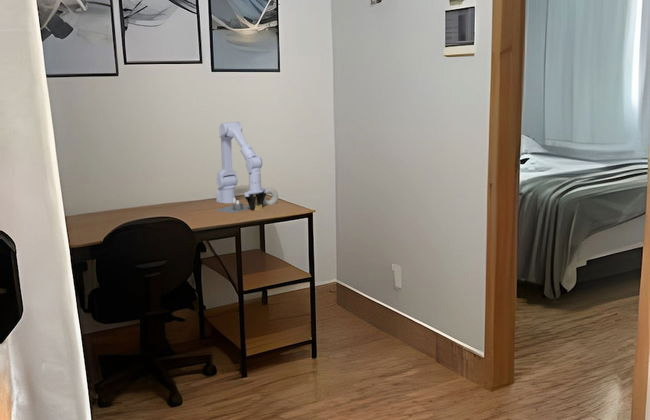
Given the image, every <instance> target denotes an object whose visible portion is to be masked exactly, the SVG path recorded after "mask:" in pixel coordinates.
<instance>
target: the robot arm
mask: <svg viewBox="0 0 650 420" xmlns="http://www.w3.org/2000/svg"><path fill="white" fill-rule="evenodd" d="M218 127H219V129H218V130H219V138H220V145H221V146H220V148H221V149H220V150H221V151H220V152H221V170H220V171H218V172H217V176H216V180H215V182H216V186H217V187H218V188H217V189H216V193H215V196H216V203H222V204H233V198H236V193H235V191H236V190H235V188H236V186H237V185H238V180H239V179H238V177H237V172H236V171H235V170H233V156H232V155H233V153H232V152H233V151H232V148H233V147H232V139H233V138H234V139H235V141H236V143H237V144H238V145H239V147H240V153H241V155H242V156H243V158H244V160H245V166H246V168H247V169H246V170H247V173H248V184H249V190H248V191H245V192H244V198H245V200H246V201H247V203H248V206H250V208H249V209H250V210H251V211H256V210H255V204H262V207H263V206H264V205H263V201H264V198H265V196H266V197H267V195H266V193H264V192H266V188H267V187H262V177H261V168H262V166H263V159H262V157H261V156H259V155H258V154H256V152H255V151H254V149H253V147H252V146H251V145H250V144H248V143H247V140H246V138H245V136H244V134H243V126H242V124H241V122H239V121H233V122H232V121H231V122H221V123H220V124H219V126H218ZM256 201H257V203H256Z"/></svg>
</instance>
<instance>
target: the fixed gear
mask: <svg viewBox="0 0 650 420" xmlns="http://www.w3.org/2000/svg"><path fill="white" fill-rule="evenodd" d="M231 204H232V205H231V206H232V208H233V210H237V211H238V210H243V209H244V206H245V205H244V203H243V202H239V204H236V203H231ZM243 205H244V206H243ZM243 211H244V210H243Z"/></svg>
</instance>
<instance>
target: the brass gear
mask: <svg viewBox="0 0 650 420" xmlns="http://www.w3.org/2000/svg"><path fill="white" fill-rule="evenodd" d="M260 210H263V206H262V204H257V203H255V210H254V211H260Z"/></svg>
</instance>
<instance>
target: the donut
mask: <svg viewBox="0 0 650 420" xmlns="http://www.w3.org/2000/svg"><path fill="white" fill-rule="evenodd" d="M265 188H266V192H264V193H266V196H265V198H264V201H263V206H264V205H265V206H266V205H275V204H277V202H278V201H279V194H278V191H277V190H276V189H275V188H273V187H265ZM267 195H270V196H271V198H270V199H267Z"/></svg>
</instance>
